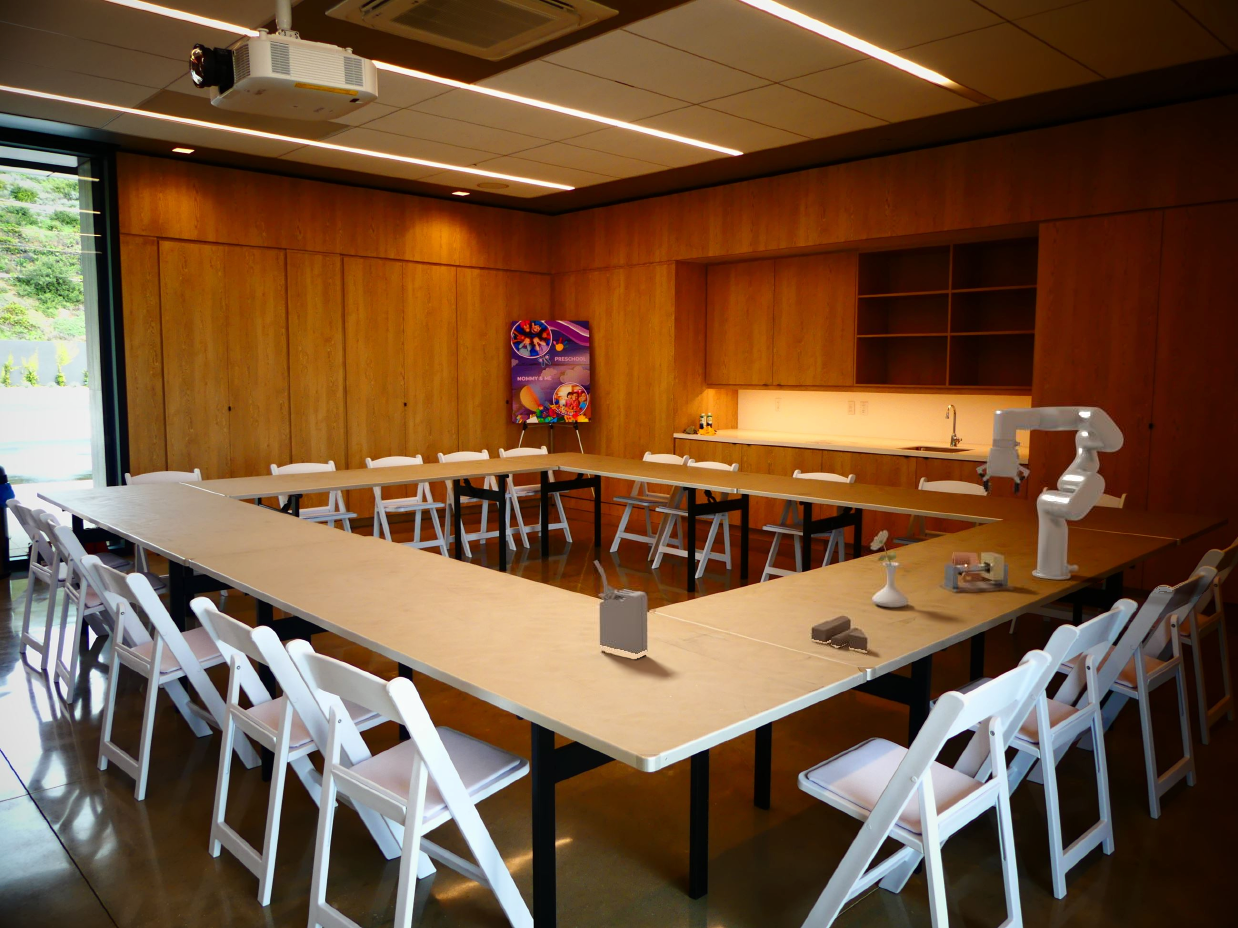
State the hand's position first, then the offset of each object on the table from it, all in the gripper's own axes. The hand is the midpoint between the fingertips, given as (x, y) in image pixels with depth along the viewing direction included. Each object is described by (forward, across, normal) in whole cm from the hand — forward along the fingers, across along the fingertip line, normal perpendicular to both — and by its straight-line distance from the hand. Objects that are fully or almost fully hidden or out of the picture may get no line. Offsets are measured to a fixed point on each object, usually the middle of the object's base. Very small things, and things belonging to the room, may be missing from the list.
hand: (1001, 492), depth 309 cm
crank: (+33, +11, -4) cm, 35 cm away
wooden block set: (+35, +20, +94) cm, 102 cm away
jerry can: (+36, +70, +138) cm, 159 cm away
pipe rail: (+33, +4, +12) cm, 35 cm away
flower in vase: (+34, +23, +52) cm, 66 cm away
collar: (+29, 0, +8) cm, 30 cm away
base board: (+33, +4, +12) cm, 35 cm away
